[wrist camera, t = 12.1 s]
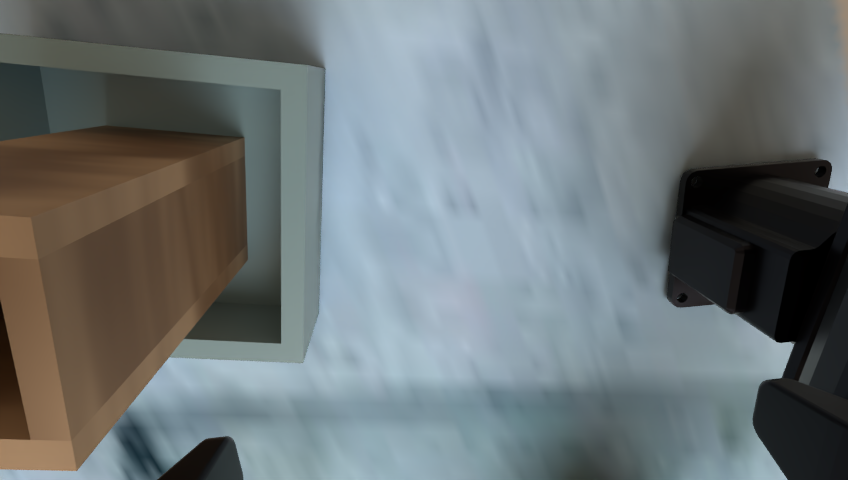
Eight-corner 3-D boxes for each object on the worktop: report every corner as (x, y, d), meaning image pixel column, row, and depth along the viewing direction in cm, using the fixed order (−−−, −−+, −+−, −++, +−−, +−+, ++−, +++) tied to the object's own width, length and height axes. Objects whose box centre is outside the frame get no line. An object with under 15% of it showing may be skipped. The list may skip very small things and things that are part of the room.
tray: (325, 68, 18) (307, 65, 14) (318, 313, 21) (302, 363, 17) (31, 38, 17) (-72, 25, 13) (73, 299, 20) (0, 349, 16)
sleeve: (244, 137, 18) (31, 217, 7) (248, 259, 19) (76, 471, 9) (105, 125, 17) (-339, 192, 7) (120, 251, 19) (-220, 464, 8)
